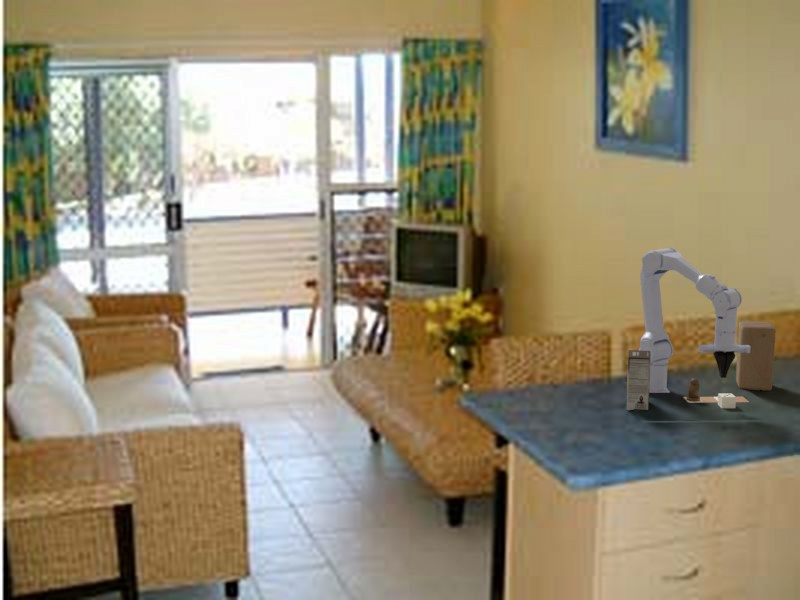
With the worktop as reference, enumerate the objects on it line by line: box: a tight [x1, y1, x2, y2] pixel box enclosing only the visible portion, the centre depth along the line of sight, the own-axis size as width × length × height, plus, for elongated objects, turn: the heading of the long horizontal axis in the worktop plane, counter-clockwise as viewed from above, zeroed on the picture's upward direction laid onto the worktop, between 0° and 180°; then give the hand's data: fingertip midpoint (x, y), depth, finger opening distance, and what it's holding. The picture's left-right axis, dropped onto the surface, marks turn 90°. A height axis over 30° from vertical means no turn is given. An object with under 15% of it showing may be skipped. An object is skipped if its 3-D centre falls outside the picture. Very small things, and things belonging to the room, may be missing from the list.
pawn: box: [686, 377, 701, 401], centre depth 333 cm, size 4×4×6 cm
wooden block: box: [735, 320, 777, 392], centre depth 348 cm, size 10×10×20 cm
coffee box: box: [626, 349, 651, 411], centre depth 327 cm, size 9×6×16 cm
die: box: [717, 392, 737, 409], centre depth 326 cm, size 4×4×4 cm
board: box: [683, 396, 750, 404], centre depth 334 cm, size 18×6×1 cm, turn 91°
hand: (722, 376), depth 325 cm, fingers closed
